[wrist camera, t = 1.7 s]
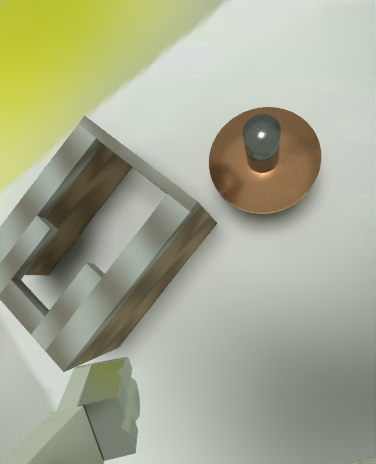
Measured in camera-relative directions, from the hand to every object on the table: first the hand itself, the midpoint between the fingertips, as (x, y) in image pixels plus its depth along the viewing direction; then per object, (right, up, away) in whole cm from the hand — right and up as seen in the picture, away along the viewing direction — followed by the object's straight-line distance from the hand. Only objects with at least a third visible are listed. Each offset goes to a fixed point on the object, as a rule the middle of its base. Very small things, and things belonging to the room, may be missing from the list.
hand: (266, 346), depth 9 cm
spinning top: (+6, +9, +25) cm, 28 cm away
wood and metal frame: (-10, +2, +28) cm, 30 cm away
